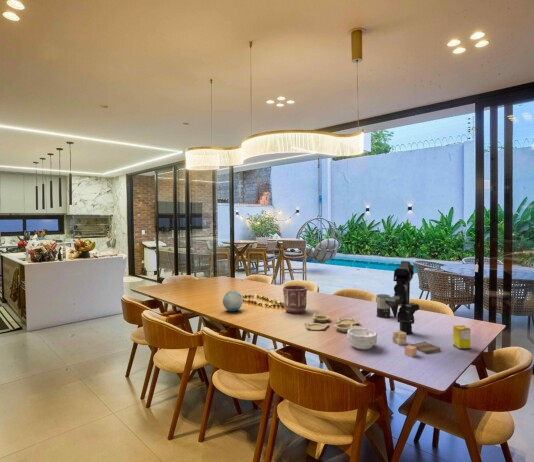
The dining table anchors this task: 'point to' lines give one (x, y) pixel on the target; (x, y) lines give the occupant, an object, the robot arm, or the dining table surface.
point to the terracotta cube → (410, 351)
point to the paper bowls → (361, 338)
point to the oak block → (399, 337)
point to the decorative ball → (232, 301)
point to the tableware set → (342, 326)
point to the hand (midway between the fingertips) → (401, 319)
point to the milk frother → (382, 306)
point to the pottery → (295, 298)
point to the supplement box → (461, 337)
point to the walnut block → (426, 347)
